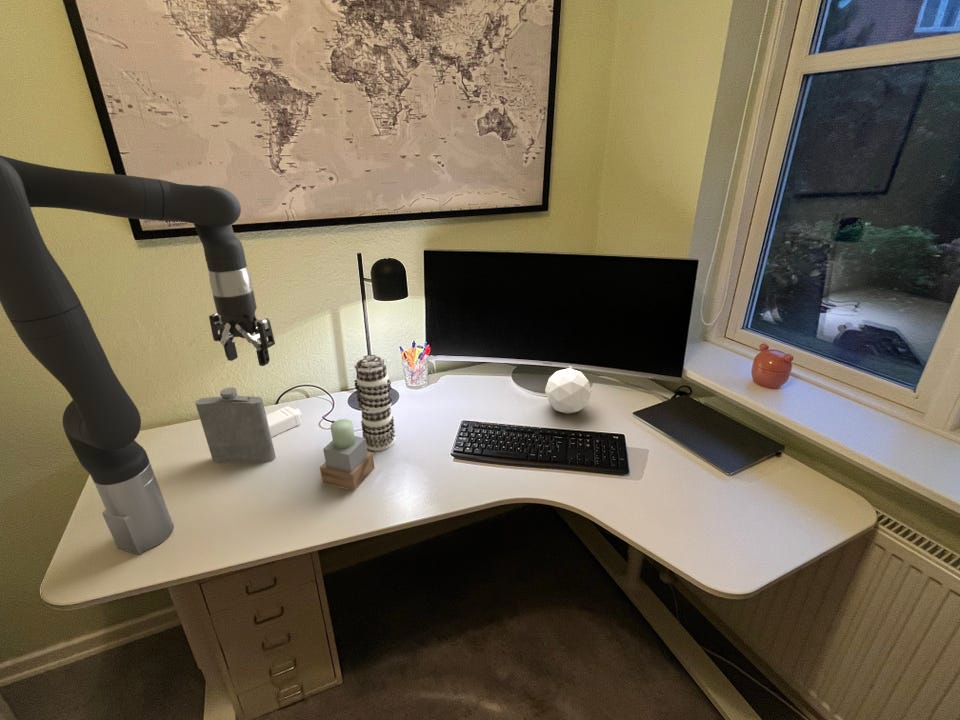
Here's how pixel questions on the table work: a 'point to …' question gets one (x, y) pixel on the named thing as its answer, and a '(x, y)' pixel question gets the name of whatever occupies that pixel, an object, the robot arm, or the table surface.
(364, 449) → the gray block
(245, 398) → the hip flask
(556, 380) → the geodesic sphere
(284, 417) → the white bottle
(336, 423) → the rounded mint cylinder
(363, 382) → the decorative candle
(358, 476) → the base block
